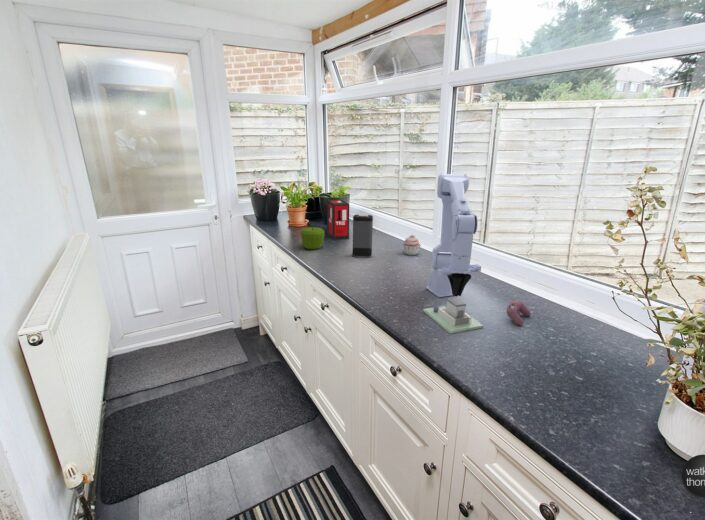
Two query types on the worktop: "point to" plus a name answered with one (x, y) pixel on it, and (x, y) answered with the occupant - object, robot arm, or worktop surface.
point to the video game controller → (517, 311)
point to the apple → (312, 237)
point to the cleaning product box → (338, 219)
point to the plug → (455, 308)
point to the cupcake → (411, 245)
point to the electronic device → (362, 236)
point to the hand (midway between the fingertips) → (456, 295)
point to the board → (452, 320)
